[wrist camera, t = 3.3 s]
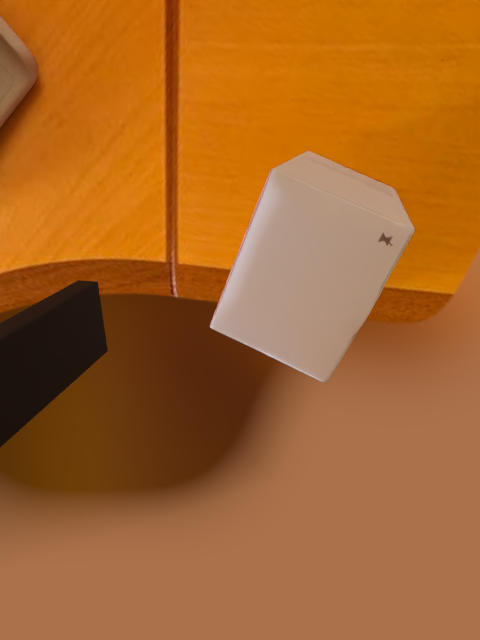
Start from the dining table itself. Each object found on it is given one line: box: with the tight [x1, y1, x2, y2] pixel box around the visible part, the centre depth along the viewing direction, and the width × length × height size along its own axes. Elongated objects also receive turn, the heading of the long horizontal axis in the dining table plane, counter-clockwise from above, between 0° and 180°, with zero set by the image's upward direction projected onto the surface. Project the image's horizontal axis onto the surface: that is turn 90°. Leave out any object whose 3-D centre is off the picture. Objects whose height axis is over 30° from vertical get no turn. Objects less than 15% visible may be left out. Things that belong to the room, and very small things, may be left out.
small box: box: [210, 151, 415, 383], centre depth 25 cm, size 8×6×13 cm
